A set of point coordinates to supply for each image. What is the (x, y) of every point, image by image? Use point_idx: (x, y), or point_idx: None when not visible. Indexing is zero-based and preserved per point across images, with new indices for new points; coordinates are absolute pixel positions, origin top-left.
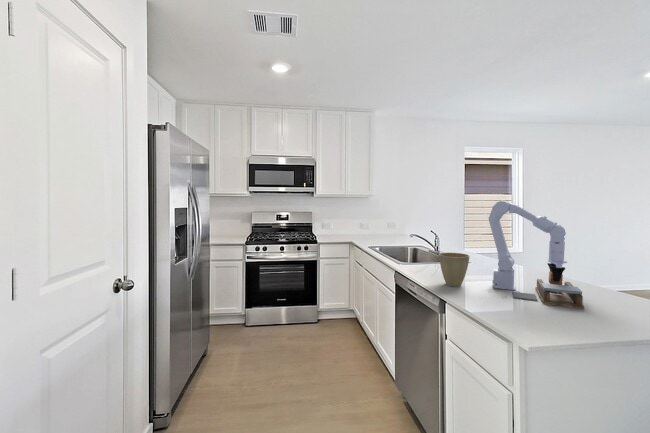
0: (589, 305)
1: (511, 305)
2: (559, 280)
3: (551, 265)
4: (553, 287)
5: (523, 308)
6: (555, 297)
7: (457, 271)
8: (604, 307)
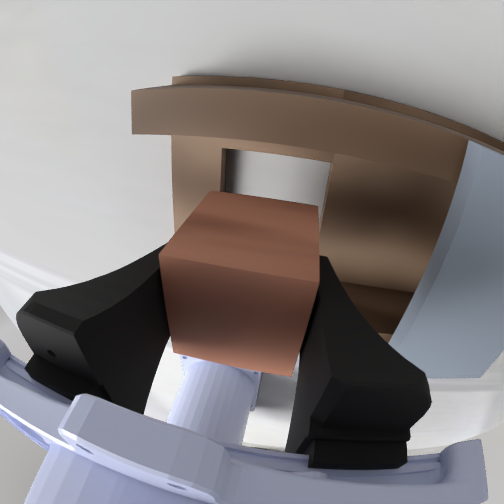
0: (479, 80)
1: (462, 393)
2: (331, 265)
3: (134, 401)
4: (488, 340)
5: (492, 372)
6: (407, 247)
7: None
8: (487, 15)
